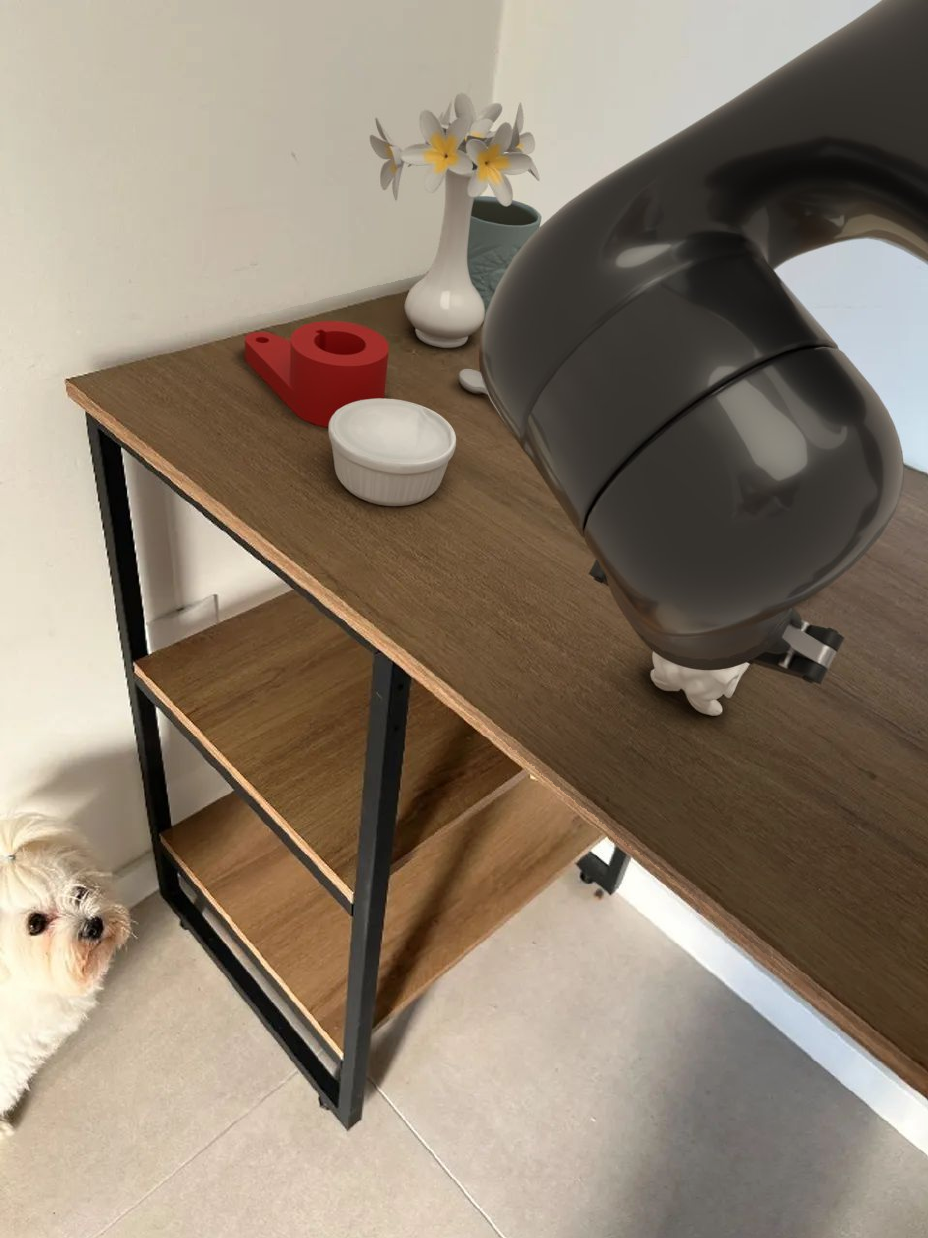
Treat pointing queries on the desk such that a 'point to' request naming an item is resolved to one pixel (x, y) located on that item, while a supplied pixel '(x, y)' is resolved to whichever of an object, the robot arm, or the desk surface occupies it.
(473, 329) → the flower vase
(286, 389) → the lever
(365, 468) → the ramekin
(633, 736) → the desk surface
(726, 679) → the white animal figurine
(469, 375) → the spoon
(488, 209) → the drinking glass
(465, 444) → the desk surface
